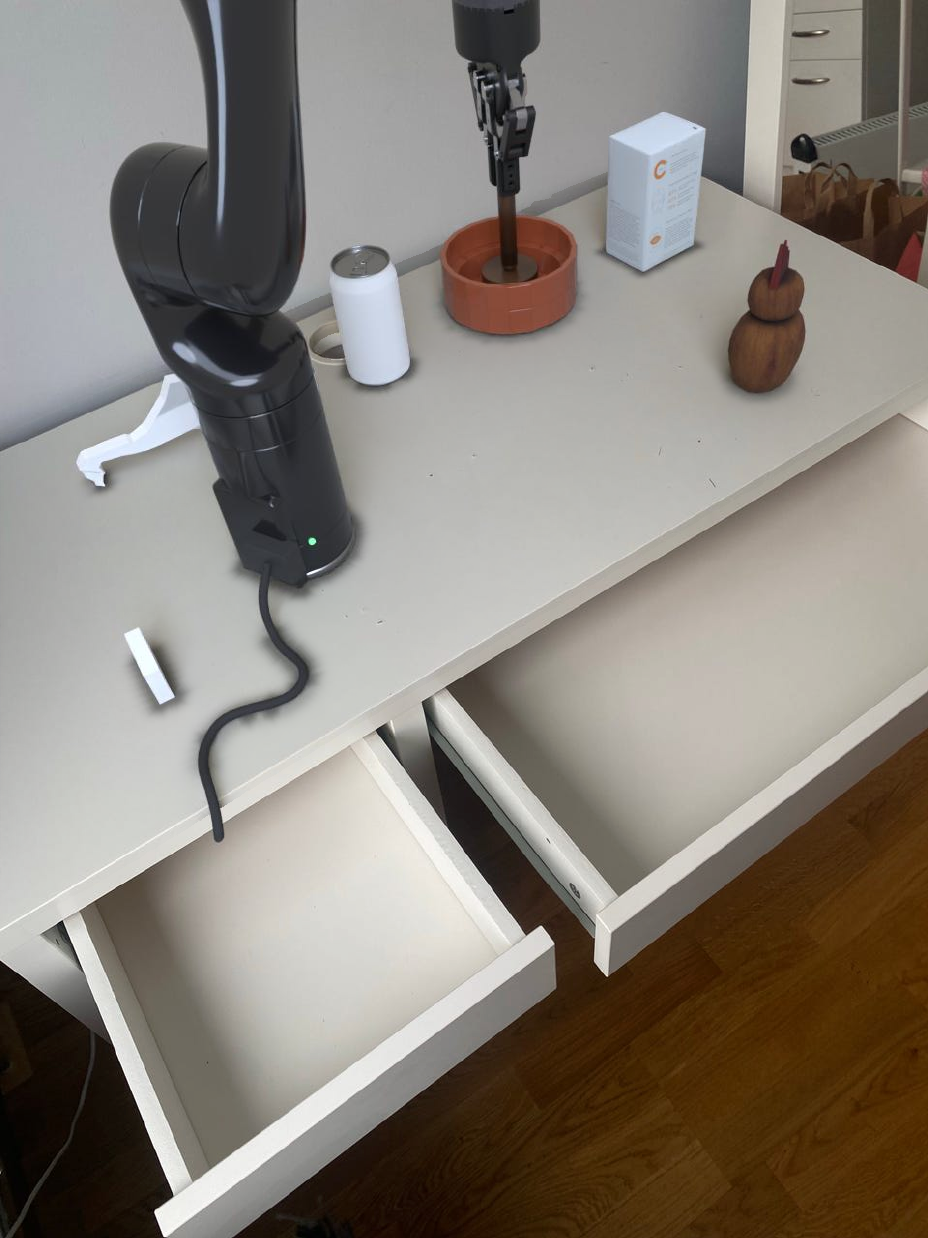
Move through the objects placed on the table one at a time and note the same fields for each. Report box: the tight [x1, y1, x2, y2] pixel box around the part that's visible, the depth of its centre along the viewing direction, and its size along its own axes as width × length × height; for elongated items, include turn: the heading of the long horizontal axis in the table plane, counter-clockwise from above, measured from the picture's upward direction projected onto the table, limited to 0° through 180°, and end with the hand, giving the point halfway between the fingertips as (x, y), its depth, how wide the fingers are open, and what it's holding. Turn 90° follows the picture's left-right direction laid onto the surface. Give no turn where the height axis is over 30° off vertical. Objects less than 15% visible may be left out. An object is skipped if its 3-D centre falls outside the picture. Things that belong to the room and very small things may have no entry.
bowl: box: [439, 214, 579, 335], centre depth 100 cm, size 14×14×6 cm
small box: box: [605, 111, 707, 273], centre depth 102 cm, size 8×6×13 cm
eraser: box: [123, 627, 176, 705], centre depth 72 cm, size 1×5×4 cm, turn 31°
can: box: [328, 244, 411, 387], centre depth 92 cm, size 6×6×12 cm
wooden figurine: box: [727, 239, 807, 394], centre depth 85 cm, size 7×6×15 cm
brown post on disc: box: [482, 191, 538, 284], centre depth 95 cm, size 6×6×15 cm
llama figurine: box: [75, 373, 201, 487], centre depth 89 cm, size 2×11×18 cm
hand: (505, 187), depth 93 cm, fingers closed on brown post on disc
